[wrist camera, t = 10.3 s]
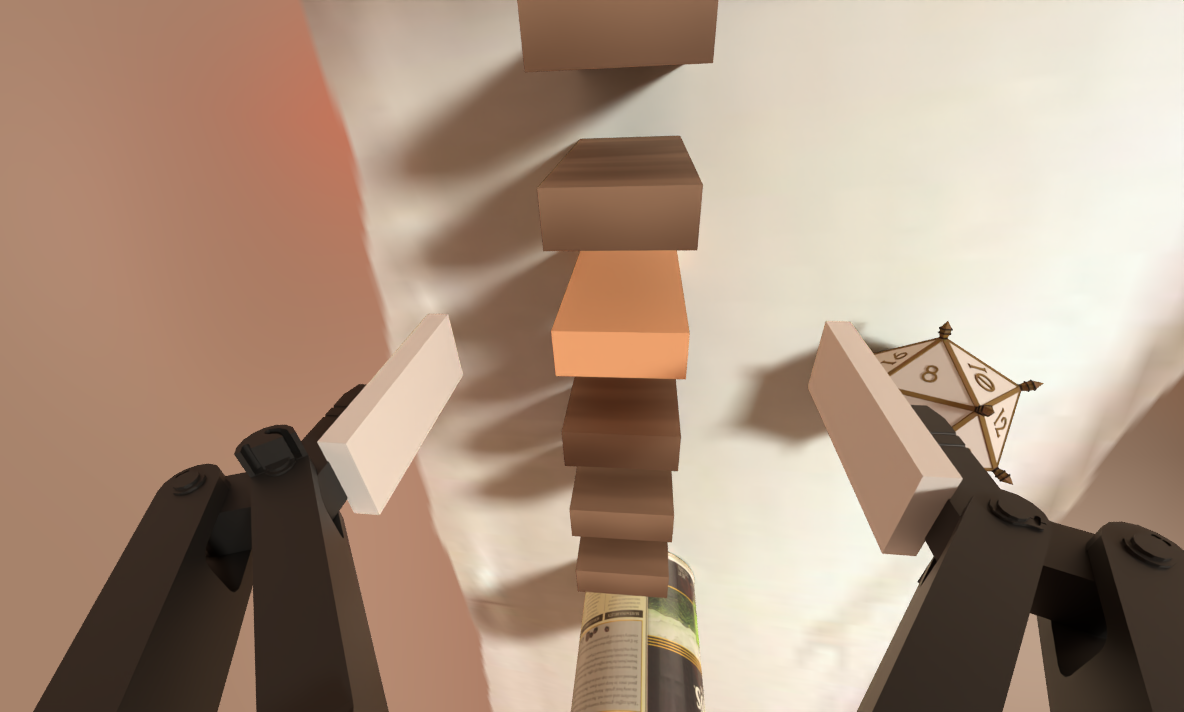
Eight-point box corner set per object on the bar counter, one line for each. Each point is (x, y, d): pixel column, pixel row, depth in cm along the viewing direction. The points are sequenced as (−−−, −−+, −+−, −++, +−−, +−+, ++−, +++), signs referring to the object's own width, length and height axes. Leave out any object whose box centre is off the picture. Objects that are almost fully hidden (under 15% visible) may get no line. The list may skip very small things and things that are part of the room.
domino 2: (580, 138, 23) (536, 188, 14) (680, 135, 23) (702, 184, 13) (582, 180, 24) (543, 250, 15) (677, 178, 24) (697, 250, 14)
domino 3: (585, 236, 26) (551, 330, 17) (674, 235, 25) (689, 333, 16) (587, 269, 27) (555, 375, 18) (672, 269, 26) (685, 379, 17)
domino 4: (589, 313, 28) (561, 432, 19) (669, 314, 28) (680, 436, 19) (590, 340, 30) (565, 465, 20) (668, 342, 29) (677, 470, 20)
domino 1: (574, 16, 20) (514, -23, 11) (687, 10, 20) (721, -38, 11) (577, 69, 22) (524, 71, 12) (684, 64, 21) (712, 63, 12)
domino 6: (595, 433, 34) (575, 570, 25) (662, 435, 33) (669, 577, 24) (596, 452, 35) (577, 591, 26) (661, 455, 34) (667, 598, 25)
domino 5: (592, 378, 31) (569, 509, 22) (666, 380, 31) (674, 516, 21) (593, 401, 32) (572, 535, 23) (664, 403, 32) (671, 542, 22)
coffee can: (705, 553, 40) (729, 755, 28) (683, 613, 46) (695, 804, 34) (590, 536, 41) (567, 729, 29) (582, 598, 46) (559, 781, 34)
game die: (843, 356, 32) (788, 466, 28) (898, 267, 26) (836, 393, 21) (988, 418, 29) (951, 555, 24) (1097, 332, 22) (1073, 501, 18)
